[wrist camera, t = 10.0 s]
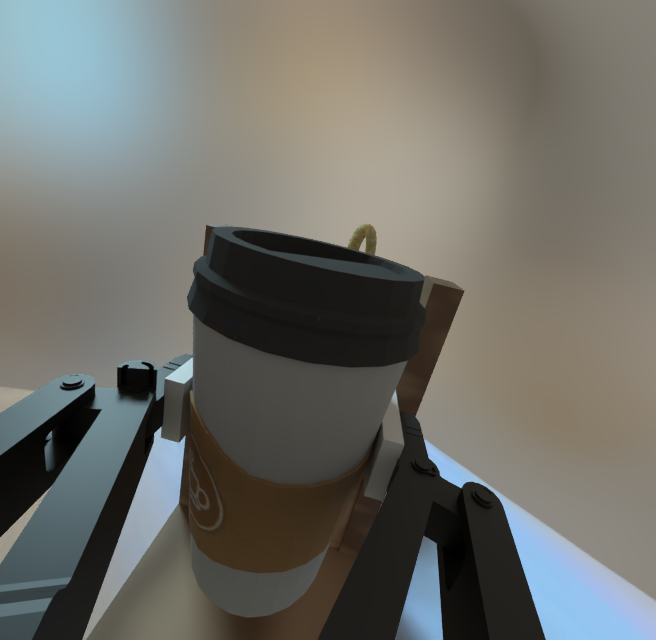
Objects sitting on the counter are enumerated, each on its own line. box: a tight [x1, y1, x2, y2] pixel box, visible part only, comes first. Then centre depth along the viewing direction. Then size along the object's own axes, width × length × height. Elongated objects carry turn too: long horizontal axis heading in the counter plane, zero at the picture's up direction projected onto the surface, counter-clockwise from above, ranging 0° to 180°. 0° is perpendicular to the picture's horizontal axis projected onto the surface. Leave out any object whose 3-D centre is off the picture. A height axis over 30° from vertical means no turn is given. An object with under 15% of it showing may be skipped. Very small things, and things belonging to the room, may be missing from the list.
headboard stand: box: [86, 225, 464, 640], centre depth 16 cm, size 14×13×23 cm
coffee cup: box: [187, 227, 427, 618], centre depth 13 cm, size 8×8×15 cm
